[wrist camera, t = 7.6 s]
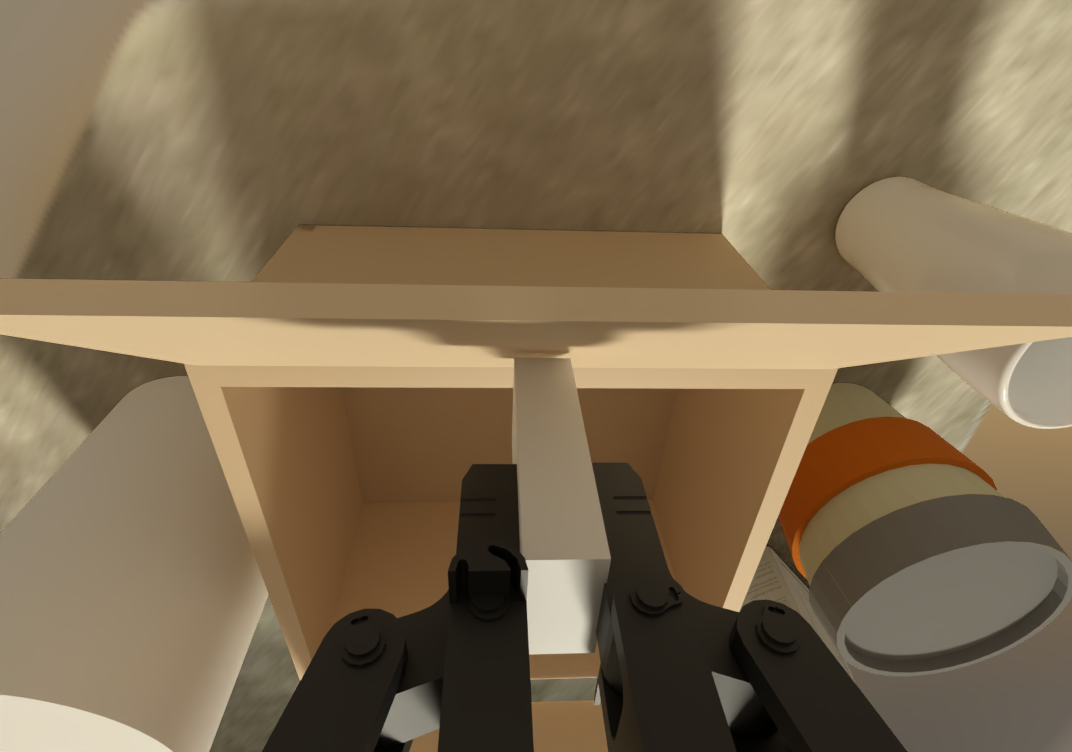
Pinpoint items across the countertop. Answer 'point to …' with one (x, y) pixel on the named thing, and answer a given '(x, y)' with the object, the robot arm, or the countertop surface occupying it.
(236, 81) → the countertop surface
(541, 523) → the robot arm
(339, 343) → the flap
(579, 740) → the flap
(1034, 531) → the reusable coffee cup
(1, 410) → the countertop surface
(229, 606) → the canister
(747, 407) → the carton
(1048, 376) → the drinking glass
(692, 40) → the countertop surface
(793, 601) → the supplement box
